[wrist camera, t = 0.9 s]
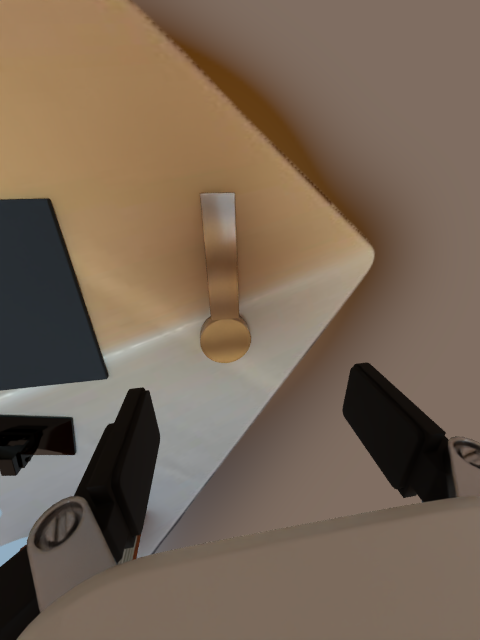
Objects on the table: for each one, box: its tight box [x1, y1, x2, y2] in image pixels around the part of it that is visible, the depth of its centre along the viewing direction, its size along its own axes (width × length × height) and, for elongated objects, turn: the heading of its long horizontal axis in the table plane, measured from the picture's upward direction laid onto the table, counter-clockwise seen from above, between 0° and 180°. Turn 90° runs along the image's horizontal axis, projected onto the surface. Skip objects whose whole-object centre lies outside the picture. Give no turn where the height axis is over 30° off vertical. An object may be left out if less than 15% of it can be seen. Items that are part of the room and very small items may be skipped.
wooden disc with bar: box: [200, 192, 251, 363], centre depth 25 cm, size 18×6×3 cm, turn 2°
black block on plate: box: [0, 415, 76, 476], centre depth 30 cm, size 12×7×5 cm, turn 79°
